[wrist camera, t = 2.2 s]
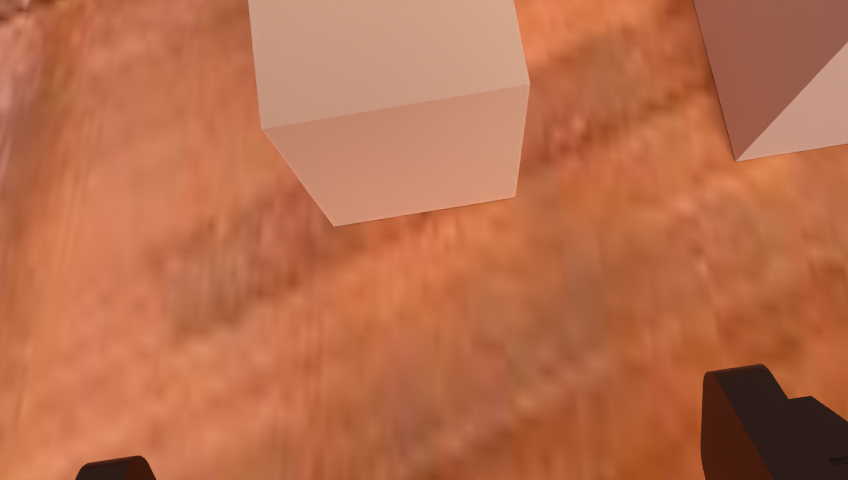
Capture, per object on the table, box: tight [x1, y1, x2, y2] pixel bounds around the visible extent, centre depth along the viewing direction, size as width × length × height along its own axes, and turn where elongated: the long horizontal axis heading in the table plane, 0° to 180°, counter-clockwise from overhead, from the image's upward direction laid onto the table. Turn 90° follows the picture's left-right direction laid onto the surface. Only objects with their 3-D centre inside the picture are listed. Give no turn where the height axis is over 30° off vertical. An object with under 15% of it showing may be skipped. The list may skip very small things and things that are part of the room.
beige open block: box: [248, 0, 530, 227], centre depth 23 cm, size 6×6×9 cm
